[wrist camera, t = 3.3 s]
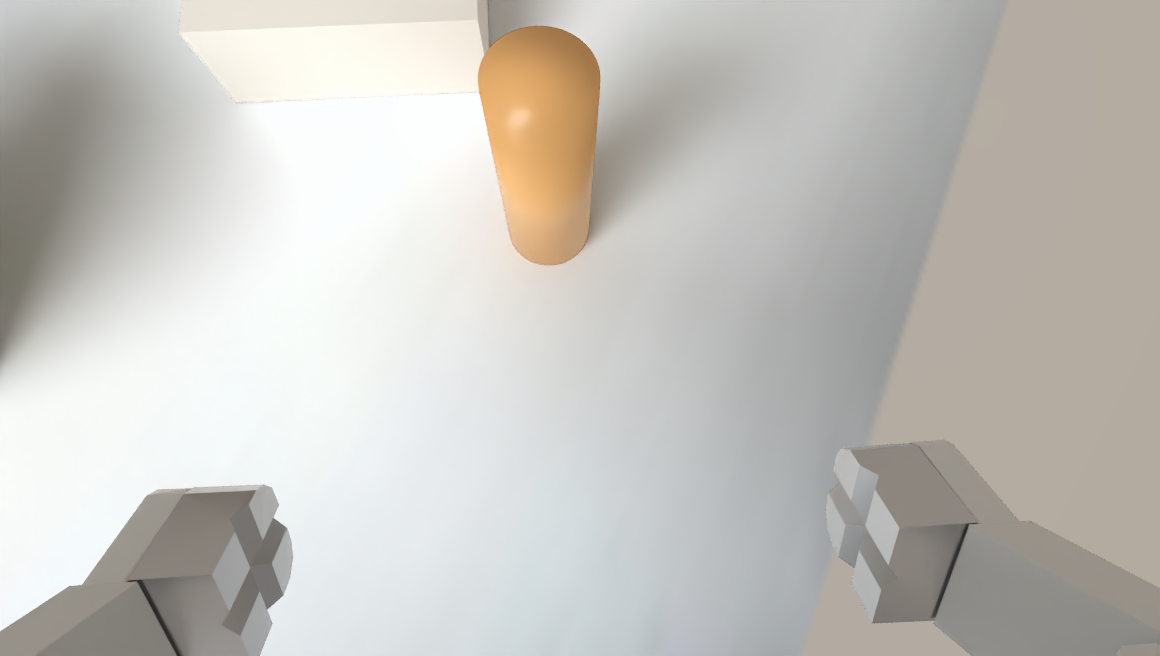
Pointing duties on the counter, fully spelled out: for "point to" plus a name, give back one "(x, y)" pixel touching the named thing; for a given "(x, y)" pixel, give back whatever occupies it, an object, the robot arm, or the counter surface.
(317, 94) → the housing
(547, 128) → the pin
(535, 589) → the counter surface
